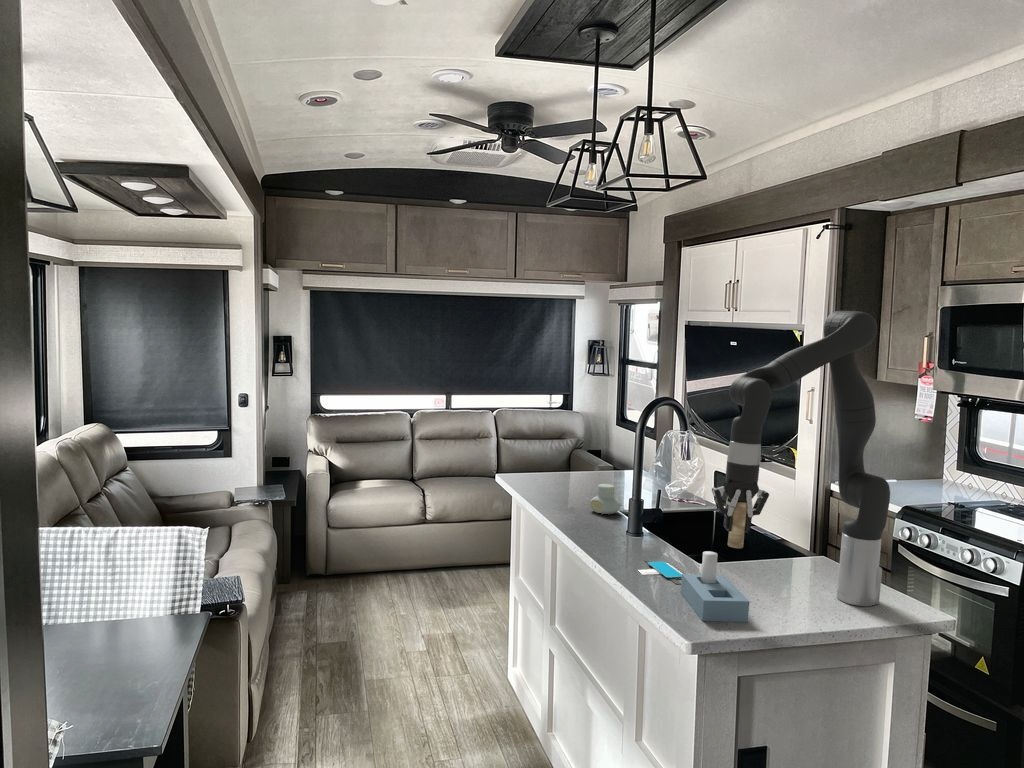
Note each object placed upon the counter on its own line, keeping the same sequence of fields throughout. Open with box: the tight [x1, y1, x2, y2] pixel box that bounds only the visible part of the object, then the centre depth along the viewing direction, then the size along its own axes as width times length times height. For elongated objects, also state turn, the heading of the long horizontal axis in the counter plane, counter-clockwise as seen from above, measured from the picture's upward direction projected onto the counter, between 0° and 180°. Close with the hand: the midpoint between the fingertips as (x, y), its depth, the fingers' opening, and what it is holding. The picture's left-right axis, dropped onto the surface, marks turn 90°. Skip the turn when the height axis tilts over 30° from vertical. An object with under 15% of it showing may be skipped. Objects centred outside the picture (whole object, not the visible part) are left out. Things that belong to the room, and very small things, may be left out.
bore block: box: [680, 550, 751, 623], centre depth 186 cm, size 11×18×12 cm, turn 4°
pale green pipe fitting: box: [589, 483, 621, 515], centre depth 272 cm, size 11×8×10 cm
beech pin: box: [727, 502, 747, 549], centre depth 182 cm, size 4×4×11 cm
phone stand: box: [637, 558, 687, 585], centre depth 211 cm, size 20×12×2 cm, turn 16°
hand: (736, 530), depth 183 cm, fingers closed on beech pin, 3 cm apart
